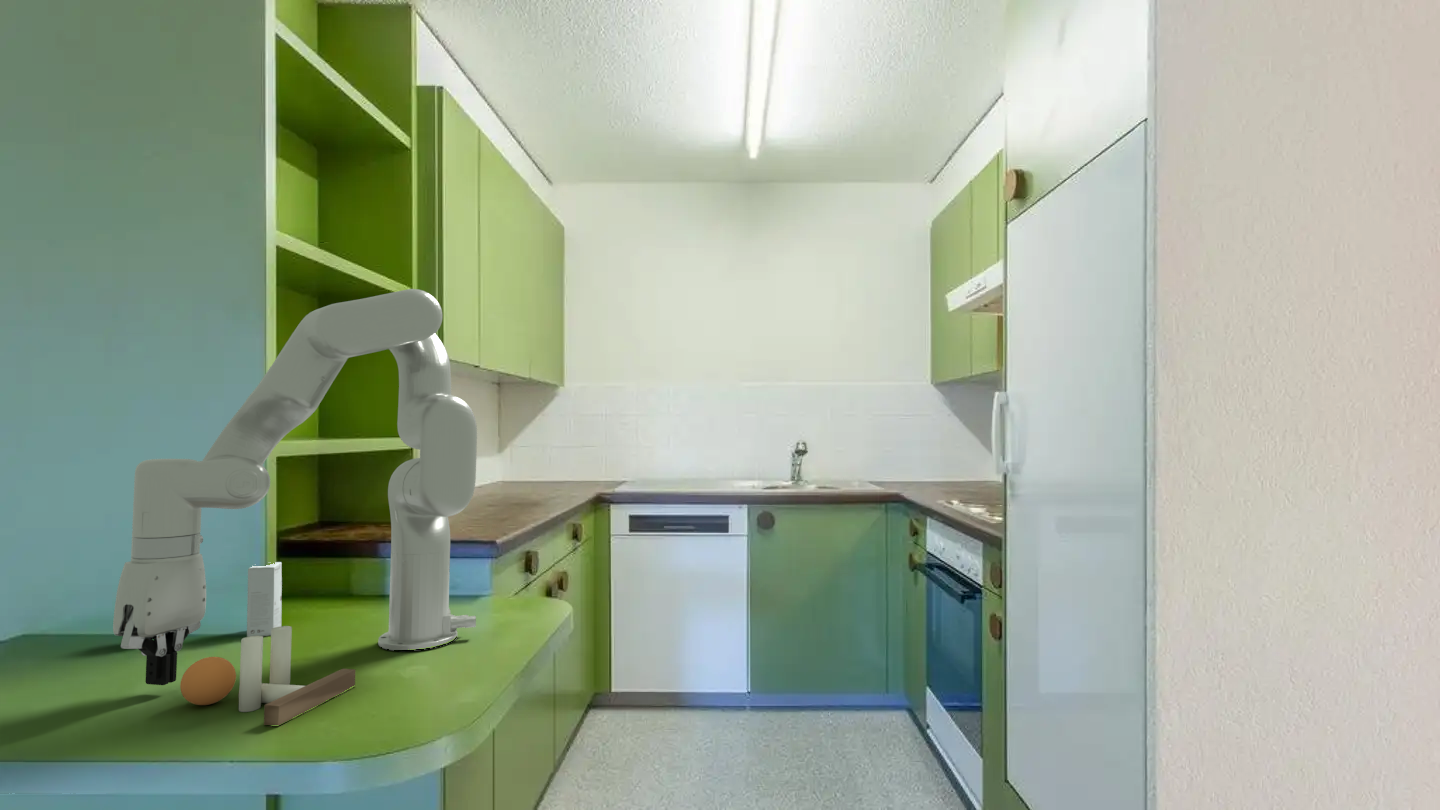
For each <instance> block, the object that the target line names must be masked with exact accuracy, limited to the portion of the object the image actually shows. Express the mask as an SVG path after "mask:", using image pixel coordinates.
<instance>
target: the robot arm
mask: <svg viewBox="0 0 1440 810" xmlns="http://www.w3.org/2000/svg"><path fill="white" fill-rule="evenodd" d="M442 322H443V310H442V307H441V305H440V303H439V301H438V300H437V299H436V298H435V297H434V296H433V295H432V294H430V293H429V292H427V291H425V290H422V289H415V288H408V289H403V290H399V291H394V292H389V293H384V294H379V295H375V296H368V297H364V298H360V299H353V300H348V301H342V302H336V303H331V304H328V305H326V306H323V307H320V308H317V309H315V310H313V311H310V312H309V313H308V314H306V315H305V316H304V317H303V318H302V320H301V321H300V322H299V324H298V325H297V327H296V328H295V329H294V331H293V332H292V333H291V335H290V336H289V338H288V340H287V341H286V342H285V344H284V345H283V347H282V349H281V351H280V352H279V354H278V355H277V356H276V358H275V360H274V361H273V362H272V365H271V366H269V368H268V369H267V372H266V373H265V375H264V376H263V377H262V379H261V380H260V382H259V383H258V384H257V386H256V387H255V388H254V389H253V391H252V392H251V393H250V395H249V396H248V397H247V398H246V400H245V401H244V402H243V404H242V405H241V406H240V408H239V409H238V410H237V412H236V413H235V414H234V415H233V416H232V417H231V418H230V420H229V421H228V423H227V424H226V426H225V427H224V428H223V430H222V431H221V432H220V433H219V435H218V437H217V438H216V439H215V442H213V444H212V445H211V447H210V448H209V449H208V452H207V453H206V454H205V456H204V457H203V459H202V460H199V461H198V460H196V459H191V458H153V459H145V460H142V461H141V462H140V463H138V464H137V465H136V468H135V471H134V482H133V483H134V484H133V486H134V487H133V504H132V505H133V507H132V527H131V529H132V531H131V549H130V550H131V551H130V561H126V562H124V563H123V564H124V565H123V567H122V571H121V574H120V577H119V580H118V585H117V590H116V596H115V602H114V603H115V604H114V609H113V610H114V612H113V620H112V622H113V623H112V624H113V625H112V631H113V634H114V636H117V637H122V639H121V644H120V648H121V649H123V650H124V649H127V650H130V649H131V650H133V649H134V650H139V651H140V652H141V653H140V654H141V655H142V656H146V662H145V684H146V685H150V686H151V685H152V686H154V685H155V686H166V685H167V684H169V683H170V684H171V683H174V682H176V680H177V669H178V663H177V662H178V652H180V651H181V650H182V649H183V643H184V642H185V640H186V638H187V637H188V635H191V634H192V633H193V632H195V631H197V630H199V629H200V628H201V626H202V625H201V621H202V620H203V619H204V617H205V615H206V606H207V581H206V570H205V563H204V559H203V554H202V553H200V551H201V544H203V542H204V537H203V535H201V531H202V529H201V527H202V526H201V525H202V508H203V509H204V508H205V509H225V510H240V509H241V510H242V509H247V508H250V507H253V506H254V505H256V504H258V503H259V502H261V501H262V500H263V499H264V498H265V496H266V495H267V494H268V493H269V490H270V488H271V478H270V474H269V472H268V470H267V469H266V468H265V466H264V464H265V463H266V462H265V461H266V460H267V459H268V458H269V456H270V455H271V453H272V452H273V450H274V449H275V448H276V447H277V446H278V444H279V443H280V441H282V440H283V438H285V437H286V435H287V434H289V433H290V432H291V431H292V430H294V429H295V428H297V427H298V426H299V425H302V424H303V423H304V422H305V421H306V420H307V419H309V418H310V417H311V416H312V415H313V413H315V412H316V410H317V409H318V408H319V406H320V403H321V402H322V401H323V399H324V397H325V395H326V394H327V392H328V391H329V389H330V388H331V386H332V384H333V382H334V381H335V380H336V378H337V376H338V375H339V373H340V372H341V370H342V368H343V367H344V365H345V364H346V362H347V361H348V359H349V358H353V357H359V356H365V355H367V354H368V355H369V354H372V353H377V352H381V351H382V352H383V351H385V350H389V351H390V353H392V355H393V358H394V359H395V361H396V364H397V369H398V386H399V387H398V405H397V406H398V407H397V423H396V425H397V433H398V435H399V439H400V440H401V442H403V444H405V445H406V446H407V447H409V448H411V449H413V450H414V449H415V450H419V457H415V458H411V459H409V460H406V461H404V462H403V463H401V464H400V465H399V466H398V467H396V468H395V470H394V471H393V472H392V474H391V476H390V479H389V481H388V487H387V499H388V506H389V514H390V516H389V517H390V527H391V528H390V529H391V532H390V534H391V537H390V538H391V541H390V542H391V543H390V544H391V545H390V546H391V547H390V568H389V569H390V570H389V571H390V572H389V574H390V575H389V605H388V609H389V610H388V611H389V612H388V614H389V615H388V631H387V632H384V633H383V634H381V635H380V636H379V637H378V641H377V642H378V643H377V644H378V646H379V647H380V648H381V647H382V649H384V650H387V649H389V650H388V651H394V650H408V649H409V650H410V649H419V648H426V647H431V646H437V645H440V644H443V643H446V642H448V641H450V640H452V639H454V638H455V637H456V636H457V637H458V630H457V629H461V628H464V629H466V628H468V629H469V628H476V627H477V616H476V615H470V616H469V614H461V615H455V614H452V613H451V608H450V607H449V606H450V605H449V604H450V567H451V566H450V562H451V528H450V521H449V517H453V516H455V515H458V514H459V513H461V512H462V511H463V510H464V509H466V508H467V507H468V505H469V504H470V502H471V500H472V499H473V496H474V494H475V493H474V492H475V487H476V479H477V476H476V475H477V474H476V473H477V449H478V446H477V445H478V425H477V421H476V417H475V414H474V411H473V409H472V407H471V406H469V404H468V403H467V401H465V400H463V399H462V398H460V397H459V396H455V395H453V394H452V375H451V373H452V372H451V371H452V370H451V361H450V357H449V354H448V352H447V349H446V347H445V345H444V343H443V342H442V340H441V338H439V335H437V334H436V333H437V332H438V331H439V329H440V328H441V325H442Z"/></svg>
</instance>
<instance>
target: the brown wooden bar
mask: <svg viewBox="0 0 1440 810" xmlns="http://www.w3.org/2000/svg"><path fill="white" fill-rule="evenodd" d="M354 685H355V686H356V669H353V668H342V669H339V670H336V671H334V672H332V673H330V674H328V675H326V676H324V677H322V678H320V679H317V680H315V681H313V682H311V683H309V684H306V685H303V686H304V687H302V688H300V689H298V690H296V691H294V692H291V693H289V694H287V695H285V696H283V697H281V698H279V699H276V700H274V701H272V702H270V703H265V704H264V706H263V707H264V709H263V711H264V712H263V726H264V725H280V724H282V723H284V722H286V721H288V720H290V719H292V718H293V717H295V716H297V715H299V714H301V713H304V712H305V711H307V710H309V709H311V708H313V707H315V706H317V705H319V704H321V703H323V702H325V701H326V700H328V699H330V698H332V697H334V696H336V695H338V694H340V693H342V692H344V691H345V690H347V689H349V688H350V687H352V686H354ZM304 714H305V713H304Z"/></svg>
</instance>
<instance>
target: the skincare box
mask: <svg viewBox="0 0 1440 810" xmlns="http://www.w3.org/2000/svg"><path fill="white" fill-rule="evenodd" d="M274 562H275V564H274V563H273V564H270V565H266V566H253V565H251V566H252V567H251V566H250V567H248V569H247V600H246V601H247V605H246V606H247V609H246V611H247V613H246V614H247V615H246V618H247V619H246V637H250V636H263V637H268V636H269V637H271V629H272V628H275V627H280V626H282V614H283V613H282V611H283V610H282V608H283V607H282V606H283V605H282V602H283V601H282V593H283V592H282V591H283V589H282V588H283V586H282V585H283V577H282V575H283V574H282V572H283V571H282V568H283V567H282V564H283V563H282V561H274Z"/></svg>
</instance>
